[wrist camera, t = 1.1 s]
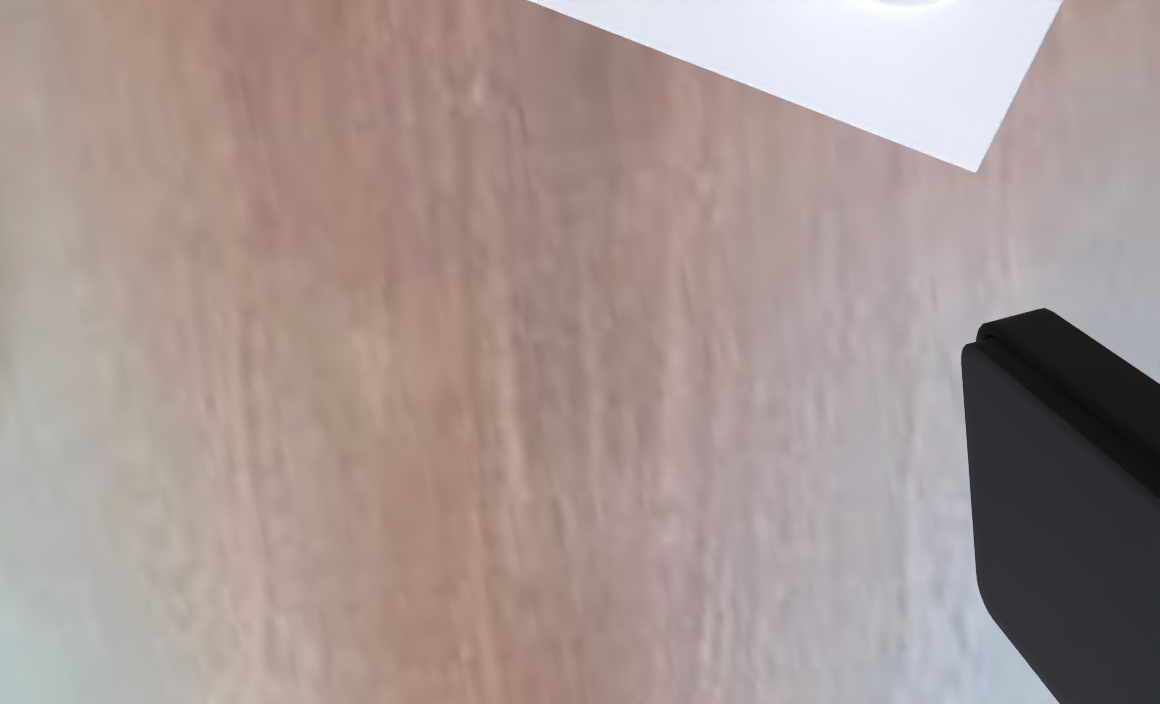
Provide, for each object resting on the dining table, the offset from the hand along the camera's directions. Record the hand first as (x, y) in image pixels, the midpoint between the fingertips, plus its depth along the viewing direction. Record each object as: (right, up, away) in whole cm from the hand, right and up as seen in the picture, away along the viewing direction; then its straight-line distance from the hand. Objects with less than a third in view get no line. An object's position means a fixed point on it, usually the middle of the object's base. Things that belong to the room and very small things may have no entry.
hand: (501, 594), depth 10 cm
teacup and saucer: (+11, +21, +29) cm, 37 cm away
